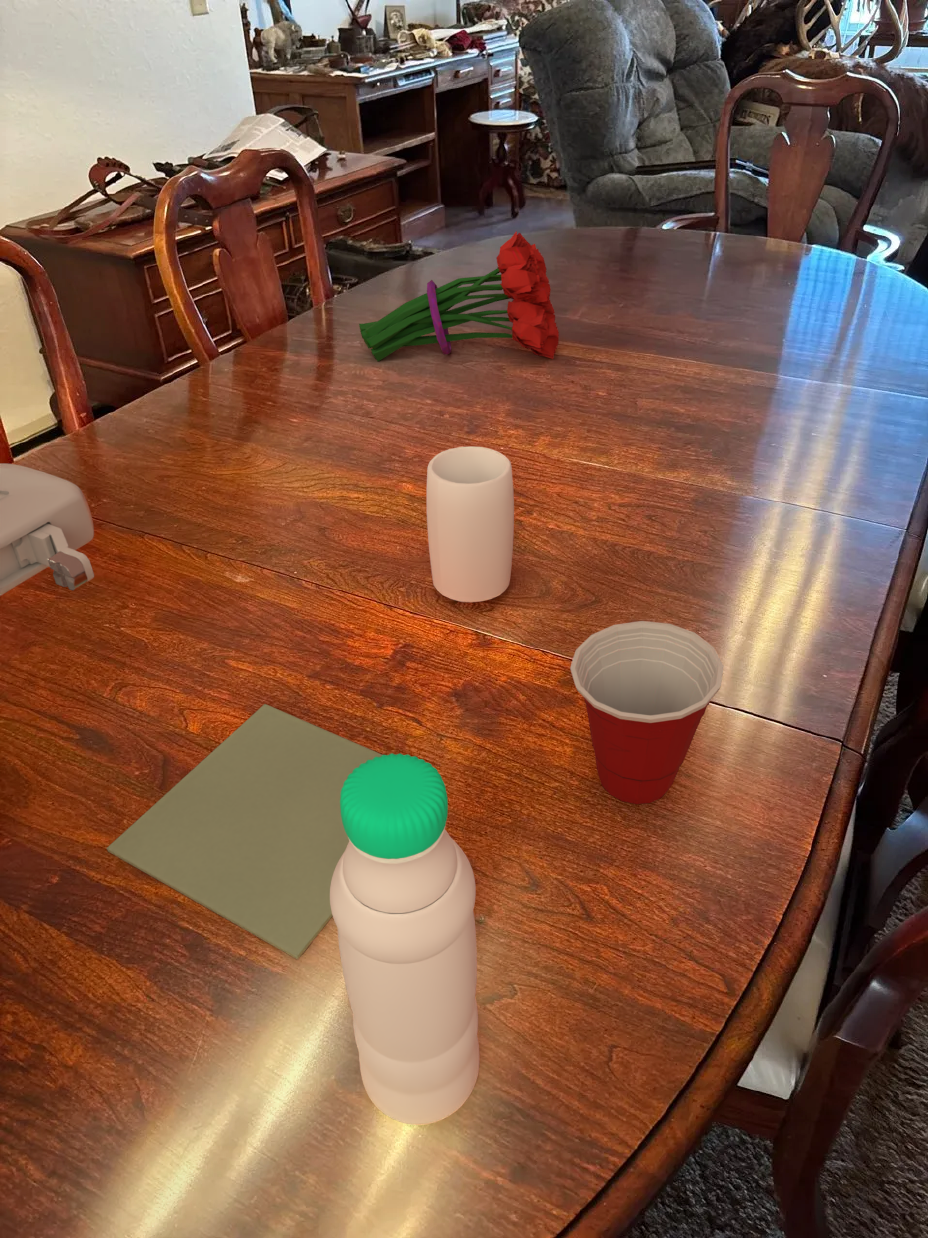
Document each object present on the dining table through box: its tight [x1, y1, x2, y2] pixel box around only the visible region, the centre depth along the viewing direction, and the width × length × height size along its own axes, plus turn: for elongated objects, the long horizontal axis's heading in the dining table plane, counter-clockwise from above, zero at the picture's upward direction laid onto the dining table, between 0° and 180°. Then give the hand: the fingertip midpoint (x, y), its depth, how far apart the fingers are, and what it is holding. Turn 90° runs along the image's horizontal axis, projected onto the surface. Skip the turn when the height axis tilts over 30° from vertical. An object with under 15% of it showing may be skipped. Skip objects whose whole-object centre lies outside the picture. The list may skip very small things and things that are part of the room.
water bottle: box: [330, 752, 481, 1126], centre depth 48 cm, size 7×7×25 cm
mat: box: [106, 703, 383, 960], centre depth 71 cm, size 18×18×1 cm
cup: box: [425, 445, 515, 603], centre depth 90 cm, size 8×8×14 cm
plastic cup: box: [569, 620, 724, 805], centre depth 70 cm, size 11×11×12 cm
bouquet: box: [358, 230, 560, 362], centre depth 139 cm, size 20×16×30 cm
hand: (14, 617), depth 50 cm, fingers open, 8 cm apart
